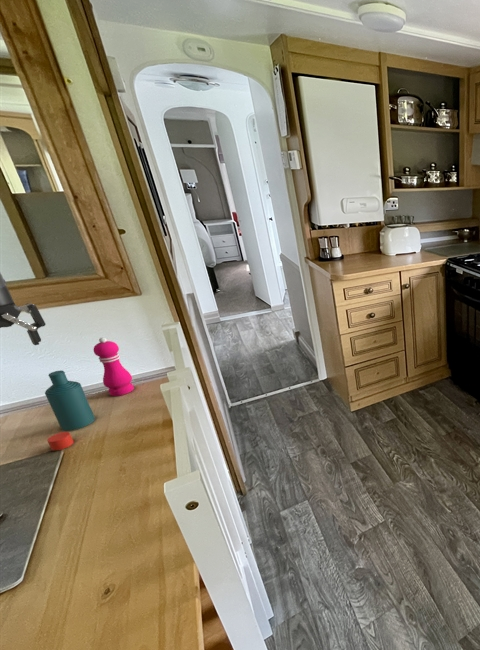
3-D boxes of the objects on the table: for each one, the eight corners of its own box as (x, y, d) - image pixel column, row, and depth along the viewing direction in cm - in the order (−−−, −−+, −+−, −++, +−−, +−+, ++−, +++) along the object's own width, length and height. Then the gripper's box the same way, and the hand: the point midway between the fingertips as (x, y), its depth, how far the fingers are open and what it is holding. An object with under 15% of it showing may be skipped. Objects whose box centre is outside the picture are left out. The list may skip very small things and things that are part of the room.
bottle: (55, 433, 107) (31, 381, 101) (69, 419, 113) (46, 369, 107) (88, 427, 110) (66, 376, 103) (99, 414, 116) (79, 365, 110)
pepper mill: (118, 386, 132) (98, 333, 124) (140, 385, 132) (122, 333, 125) (102, 397, 125) (80, 342, 117) (125, 396, 126) (105, 341, 118)
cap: (71, 438, 105) (67, 429, 104) (75, 444, 103) (71, 435, 102) (49, 446, 102) (45, 437, 101) (53, 452, 100) (49, 443, 98)
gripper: (19, 278, 94) (45, 337, 100) (-74, 291, 83) (-38, 357, 89) (31, 282, 91) (57, 343, 97) (-65, 296, 79) (-29, 365, 85)
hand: (11, 350), depth 93 cm, fingers open, 8 cm apart
